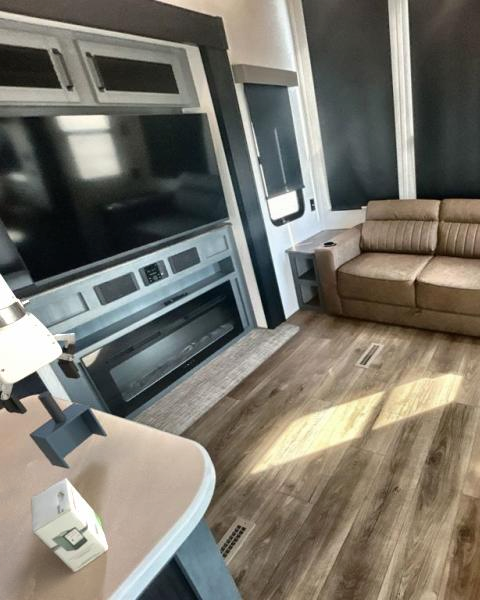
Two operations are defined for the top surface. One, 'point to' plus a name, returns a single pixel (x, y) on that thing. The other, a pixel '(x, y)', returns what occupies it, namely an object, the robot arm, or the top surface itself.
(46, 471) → the top surface
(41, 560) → the top surface
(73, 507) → the ink box
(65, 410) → the dustpan
